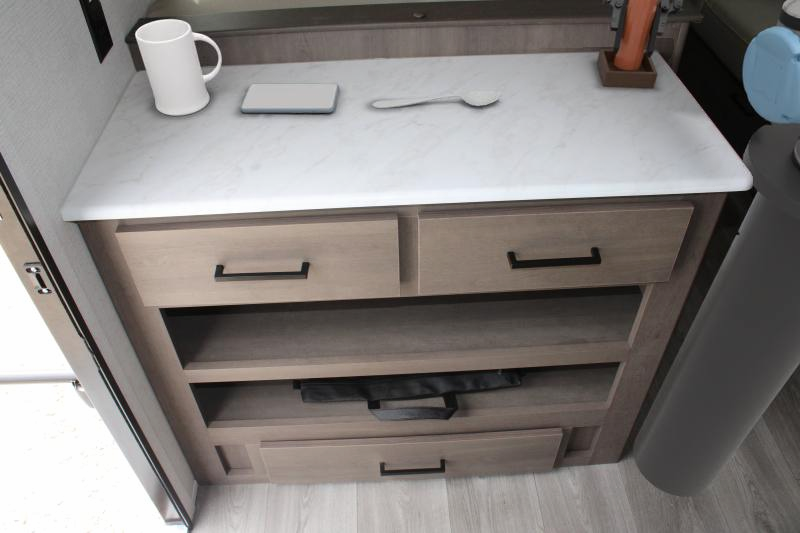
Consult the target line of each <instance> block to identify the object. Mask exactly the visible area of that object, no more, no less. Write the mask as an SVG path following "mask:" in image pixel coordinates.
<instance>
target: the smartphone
mask: <svg viewBox="0 0 800 533" xmlns="http://www.w3.org/2000/svg"><path fill="white" fill-rule="evenodd" d="M339 91H340V85H339V84H338V83H335V82H319V83H317V82H316V83H315V82H311V83H309V82H308V83H307V82H304V83H303V82H301V83H300V82H298V83H297V82H296V83H295V82H293V83H289V82H288V83H287V82H286V83H284V82H283V83H282V82H281V83H279V82H277V83H276V82H275V83H274V82H273V83H272V82H271V83H270V82H269V83H265V82H264V83H262V82H261V83H260V82H259V83H257V82H255V83H254V82H253V83H250V84H249V86H248V88H247V90H246V92H245V95H244V98H243V100H242V102H241V105H240V107H239V109H240V112H242V113H243V114H246V113H248V114H249V113H250V114H251V113H253V114H254V113H255V114H259V113H261V114H262V113H263V114H268V113H270V114H273V113H277V114H279V113H282V114H284V113H286V114H288V113H291V114H292V113H293V114H297V113H299V114H300V113H301V114H302V113H305V114H306V113H307V114H311V113H315V114H316V113H317V114H320V113H321V114H322V113H325V114H327V113H329V114H330V113H333V112H334V111H335V110H336V106H337V105H336V104H337V101H338V100H337V99H338V95H339Z"/></svg>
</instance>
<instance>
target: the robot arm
mask: <svg viewBox="0 0 800 533" xmlns="http://www.w3.org/2000/svg"><path fill="white" fill-rule="evenodd" d="M625 2H626V0H602V7H603V8H608V9H611V11H612V14H611V19H610V25H609V29H610V31H611V32H615V37H614V42H613V47H612V50H613V52H612V54H617V53H618V50H619V48H620V42H621V37H622V32H623V26H624V21H625V16H626V10H627V6H624V4H625ZM683 4H684V0H672V2H671V3H670V0H659V2H658V6H657V10H656V13H655V17H654V20H653V24H652V27H651V31H650V35H649V38H648V42H647V45H646V50H645V51H646V56H645V57H648V58H650V57H651V58H652V56H653V54H654V52H655V47H656V42H657V37H662V36H663V34H664V33H665V31H666V27H667V21H668V17H669V15H678V13H679V12H680V10H681V8H682V6H683ZM742 82H743V88H744V91H745V93H746V95H747V99H748V102H749V103H750V105H751V107H752V108H753V109H754V111H755V112H756V113H757V114H758V115H759V116H760V117H762V118H763V119H764V120H765V121H769V122H770V123H771V122H774V123H780V124H785V123H799V124H800V0H785V1H784V2H783V5H782V7H781V9H780V14H779V17H778V19H777V23H776V26H774V25H773V26H771V27H769V28H768V27H767V28H766V29H764V30H762V31H760V32H759V33H758V34H757V36H755V37H754V38H752V39H751V41H750V43H749V44H748V46H747V48H746V51H745V53H744V57H743V62H742ZM798 139H799V140H798ZM798 139H797V140H798V141H797V140H796V141H797V143H796V145H795V147H794V149H793V151H792V159H793V162H794V164H795V165H796V167H797V168H798V169H799V170H800V136H799V137H798Z"/></svg>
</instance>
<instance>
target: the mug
mask: <svg viewBox="0 0 800 533" xmlns="http://www.w3.org/2000/svg"><path fill="white" fill-rule="evenodd" d="M134 35H135V39H136V42H137V46H138V48H139V53H140V55H141V58H142V62H143V65H144V68H145V72H146V75H147V77H148V81H149V83H150V88H151V92H152V94H153V97H154V103H155V104H154V105H155V108H156V109H157V111H158V112H160V113H161V114H164V115H167V116H173V117H174V116H176V117H178V116H179V117H180V116H186V115H191V114H194V113H197V112H199V111H201V110H202V109H204V108H205V107H207V105H208V104H209V102H210V99H211V98H210V94H209V92H208V90H207V86H206V83H208V82H210V81H211V80H213V79H214V78H215V77H216V76H217V75H218V73H219V72H220V70H221V68H222V62H223V57H222V52H221V50H220V47H219V46H218V45H217V43H216V42H215V40H213V39H212V38H210V37H209V36H208V35H205V34H203V33H198V32H195V31H193V30H192V26H191V25H190V23H188V22H186V21H185V20H181V19H175V18H170V19H169V18H168V19H158V20H154V21H150V22H148V23H145V24H143V25H142V26H140V27H139V28H137V30H135V33H134ZM196 41H203V42H206V43H208V44H210V45H211V46H212V47H213V48H214V49H215V50H216V52H217V57H218V59H217V64H216V67H215V68H214V69H213V70H212V71H211V72H209V73H207V74H203V71H202V67H201V63H200V59H199V55H198V50H197V46H196V43H195V42H196Z"/></svg>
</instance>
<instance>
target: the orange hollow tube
mask: <svg viewBox="0 0 800 533" xmlns="http://www.w3.org/2000/svg"><path fill="white" fill-rule="evenodd" d="M658 2H659V0H628V2H627V5H626V7H627V10H626V16H625V21H624V26H623V32H622V37H621V42H620V48H619V50H618V53H617V54H615V58H614V65H615V66H616V67H617V68H619V69H622V70H628V71H632V70H637V69H639V68H640V66H641V63H642V59H643V56H644V52H645V51H646V50H647V46H648V40H649V35H650V31H651V27H652V24H653V20H654V17H655V13H656V10H658Z"/></svg>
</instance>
